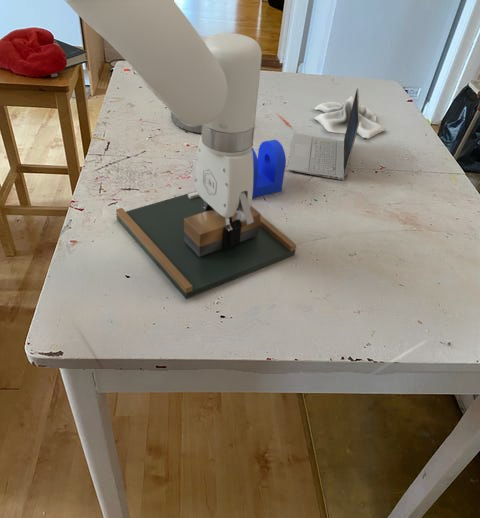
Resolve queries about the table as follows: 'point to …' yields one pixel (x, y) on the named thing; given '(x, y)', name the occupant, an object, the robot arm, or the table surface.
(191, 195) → the off-white bar
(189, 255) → the slate board
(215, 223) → the eraser
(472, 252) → the table surface
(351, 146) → the laptop
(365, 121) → the cloth
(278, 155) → the bracket
